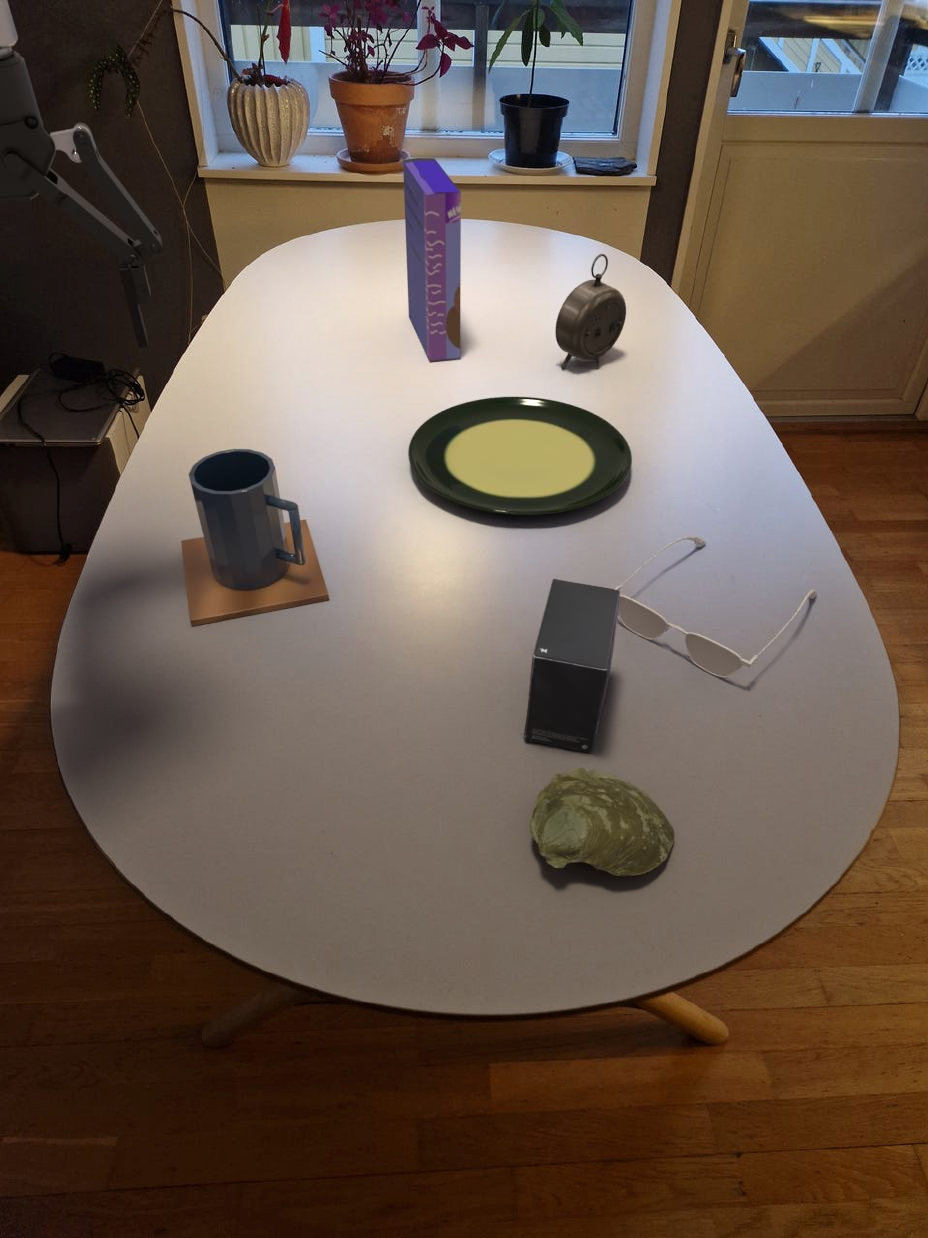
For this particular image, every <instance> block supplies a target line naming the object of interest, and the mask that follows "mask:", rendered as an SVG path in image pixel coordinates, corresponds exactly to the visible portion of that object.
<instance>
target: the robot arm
mask: <svg viewBox="0 0 928 1238" xmlns="http://www.w3.org/2000/svg"><path fill="white" fill-rule="evenodd" d="M11 11H12V10H11V9H10V4H9V1H8V0H0V204H1V203H3V202H6V201H11V202H12V201H13V202H16V203H17V202H18V203H25V202H27V203H28V202H32V199H35V198H36V197H37V196H38V195H40V196H41V197H43V198H44V199H45V200H46V201H47V202H49V203H50V204H51V205H52V206H54V207H57V208H59V209H60V210H61V211H62V212H63V213H64V214H66V215H67V216H68V217H70V218H71V219H72V220H73V221H75V222H76V223H77V224H78V225H79V226H80V227H82V228H83V229H84V230H86V231H87V232H88V233H89V234H91V235H92V237H94V238H95V239H97V240H98V241H99V242H100V243H102V244H103V245H104V246H105V247H106V248H108V249H109V250H110V251H111V252H112V253H114V254H115V255H116V256H117V257H118V258H117V262H118V263H117V265H118V267H117V268H118V273H119V278H120V281H121V286H122V288H123V293H124V296H125V301H126V304H127V308H128V311H129V316H130V320H131V323H132V327H133V328H132V329H133V331H134V336H135V338H136V342H137V346H138V349H140V348H142V349H143V348H148V347H149V343H148V334H147V333H148V332H147V328H146V325H145V322H144V318H143V313H142V309H141V305H146V304H151V299H152V294H151V288H150V284H149V280H148V275H147V272H146V267H145V263H146V262H147V260H149V259H151V258H152V257H158V256H161V255H162V253H163V251H164V248H163V240H162V237H161V234H160V233H159V232H158V231H157V229H156V228H155V227H154V225H153V224H152V223H151V221H150V220H149V218H148V217H147V216H146V214H145V213H144V212H143V211H142V209H141V208H140V207H139V205H138V204H137V202H136V200H134V198H133V197H132V196H131V195H130V193H129V192H128V191H127V189H126V188H125V186H124V185H123V184H122V183H121V181H120V180H119V179H118V177H117V176H116V175H115V173H114V172H113V171H112V169H111V168H110V167H109V165H108V164H107V162H106V161H105V160H104V158H103V157H102V156H101V155H100V152H99V150H98V147H97V145H96V142H95V138H94V136H93V134H92V130H91V129H90V127H89V126H88V125H87V124H86V123H84V122H77V123H75V124H74V126H73V128H69V129H64V130H58V131H53V132H51V131H50V130H49V129H48V127H47V126H46V125H45V122H44V121H43V119H42V116H41V112H40V109H39V106H38V103H37V98H36V96H35V92H34V88H33V85H32V81H31V78H30V75H29V71H28V67H27V63H26V61H25V58H24V57H23V56H21V54H20V53H19V52H18V51H15V50H13V48H12V47H13V46H15V45H16V44H17V42H18V40H19V36H18V32H17V28H16V25H15V23H14V18H13V15H12V12H11ZM56 151H61V152H63V153H65V154H66V155H67V157H68V158H69V159H70V161H72V162H74V163H76V164H80V163H81V164H82V167H83V168H84V170H85V172H86V173H87V175H88V176H89V178H90V179H91V180H92V181H93V184H95V185H96V187H97V188H98V189H99V191H100V192H101V193H102V194H103V196H104V197H105V198H106V200H107V201H108V202H109V204H110V205H111V206H112V207H113V209H114V210H115V212H117V214H118V215H119V216H120V218H121V219H122V220H123V222H124V223H125V224H126V225H127V227H128V228H129V229H130V231H131V232H132V234H133V235H134V236H135V237H136V238H137V239H136V240H134V239H133V238H131V237H130V236H129V235H128V234H126V233H125V231H123V230H122V229H121V228H119V226H117V225H116V224H115V223H114V222H113V221H112V220H110V219H109V218H108V217H107V216H105V215H104V214H103V213H102V212H101V211H99V210H98V209H97V208H96V207H95V206H94V205H92V204H91V203H90V202H89V201H88V200H86V198H84V197H83V196H82V195H80V194H79V193H78V192H77V191H76V190H74V188H72V187H71V186H70V185H69V184H68V183H67V182H66V181H65V179H64V178H63V177H61V175H59V174H58V173H57V172H55V171H54V170H53V169H52V168H51V166H52V163H53V162H54V159H55V157H56Z"/></svg>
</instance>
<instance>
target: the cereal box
mask: <svg viewBox="0 0 928 1238" xmlns="http://www.w3.org/2000/svg"><path fill="white" fill-rule="evenodd" d="M402 166H403V167H402V171H403V197H404V198H403V200H404V219H405V220H404V223H405V224H404V225H405V249H406V250H405V251H406V253H405V254H406V279H407V282H406V283H407V305H408V306H407V307H408V318H409V320H410V322H411V324H412V327H413V329H414V331H415V333H416V335H417V338H418V340H419V342H420V345H421V347H422V349H423V351H424V354H425V355H426V358H427V359H428V362H429V363H436V362H445V361H446V362H447V361H457V360H461V286H462V285H461V281H462V280H461V271H462V270H461V267H462V266H461V265H462V263H461V260H462V259H461V258H462V255H461V254H462V252H461V249H462V246H461V245H462V244H461V243H462V240H461V239H462V235H461V234H462V233H461V232H462V216H461V215H462V192H461V191H460V189H459V188H458V187H457V185H456V184H455V182H453V180H452V179H451V178H450V176H449V175H448V174H447V173H446V171H445V170H444V169H443V167H442V166H441V165H440V163H439V162H438V161H437V159H436V158H434V157H413V158H409V159H403V160H402Z"/></svg>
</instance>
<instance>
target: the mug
mask: <svg viewBox="0 0 928 1238" xmlns="http://www.w3.org/2000/svg"><path fill="white" fill-rule="evenodd" d="M188 478H189V482H190V487H191V490H192V494H193V499H194V502H195V507H196V511H197V515H198V519H199V524H200V527H201V532H202V535H203V536H202V537H204V540H205V544H206V548H207V552H208V556H209V560H210V564H211V568H212V573H213V576H214V578H215V579H216V581H217V582H218V583H220V584H221V585H223V586H224V587H227V588H230V589H233V590H242V591H248V590H256V589H261V588H264V587H267V586H270V585H272V584H274V583H276V582H277V581H279V580H280V579H281V578H282V577H283V576H284V575H285V574H286V573H287V571H288V569H289V567H290V562H291V563H294V564H297V565H304V564H305V563H306V556H305V549H304V543H303V536H302V529H301V523H300V520H301V516H300V511H299V510H300V509H299V505H298V503H296V502H295V501H291V500H288V499H284V498H282V497H281V493H280V488H279V483H278V477H277V470H276V466H275V463H274V461H273V459H272V458H271V457H270V456H268V455H267V454H265V453H264V452H262V451H258V450H254V449H251V448H231V449H225V450H219V451H215V452H213V453H211V454H208V455H206V456H203V457H202V458H201V459H199V460H198V461H197V462H195V463H194V464H193V465H192V467H191V468H190V471H189V472H188ZM284 511H286V512H288V517H289V522H290V525H291V531H292V537H293V544H294V550H295V553H291V552H289V548H288V542H287V536H286V530H285V524H284V523H285V518H284Z"/></svg>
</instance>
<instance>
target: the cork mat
mask: <svg viewBox="0 0 928 1238" xmlns="http://www.w3.org/2000/svg"><path fill="white" fill-rule="evenodd" d="M300 523H301V529H302V536H303V543H304V549H305V556H306V563H305V564H304V565H297V564H294V563H291V562H290V567H289V569H288V571H287V573H286V574H285V575H284V576H283V577H282V578H281V579H280V580H279V581H277V582H276V583H274V584H272V585H270V586H267V587H264V588H261V589H256V590H248V591H242V590H233V589H230V588H227V587H224V586H223V585H221V584H220V583H218V582H217V581H216V579H215V578H214V576H213V573H212V568H211V564H210V560H209V556H208V552H207V548H206V544H205V540H204V536H200V537H195V538H187V539H181V540H180V543H181V544H180V545H181V553H182V554H181V555H182V561H183V570H184V579H185V588H186V597H187V607H188V615H189V623H190V626H191V627H196V626H202V625H207V624H212V623H217V622H222V621H227V620H232V619H238V618H243V617H249V616H253V615H258V614H264V613H269V612H274V611H280V610H285V609H289V608H295V607H300V606H304V605H310V604H316V603H320V602H326V601H330V597H329V596H330V595H329V591H328V588H327V584H326V582H325V578H324V575H323V572H322V568H321V564H320V562H319V558H318V555H317V551H316V547H315V545H314V541H313V539H312V534H311V532H310V528H309V525H308V522H307V519H306V518H305V519H300ZM284 524H285V530H286V536H287V542H288V548H289V552H291V553H295V550H294V544H293V537H292V531H291V525H290V521H287V522H284Z"/></svg>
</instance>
